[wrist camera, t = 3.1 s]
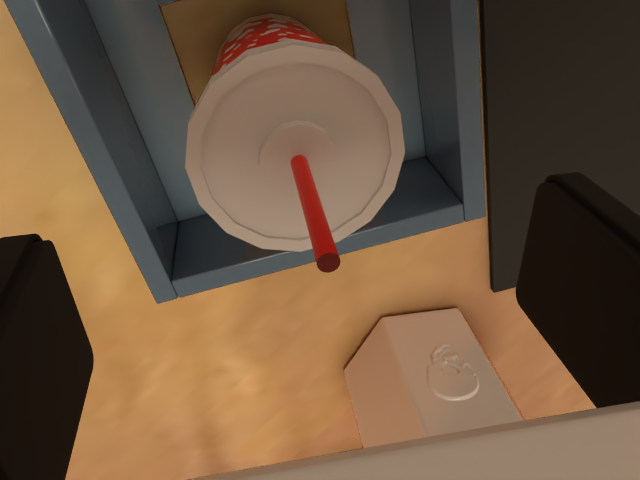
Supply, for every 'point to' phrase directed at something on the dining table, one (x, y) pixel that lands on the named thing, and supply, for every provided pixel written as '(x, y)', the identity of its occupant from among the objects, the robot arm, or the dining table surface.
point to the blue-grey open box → (177, 105)
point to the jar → (425, 380)
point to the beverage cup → (292, 140)
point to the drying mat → (556, 109)
